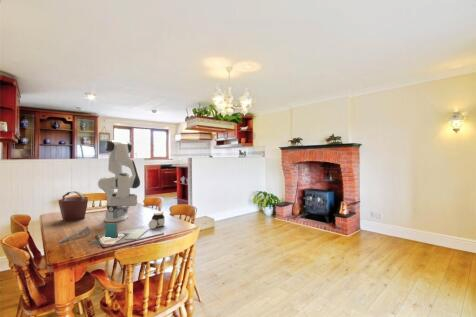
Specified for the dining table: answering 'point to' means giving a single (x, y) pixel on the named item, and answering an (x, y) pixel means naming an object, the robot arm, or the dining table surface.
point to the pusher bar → (119, 212)
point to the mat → (99, 241)
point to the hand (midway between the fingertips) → (123, 211)
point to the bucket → (73, 207)
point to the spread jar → (157, 220)
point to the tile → (111, 230)
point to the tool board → (136, 234)
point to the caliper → (77, 234)
